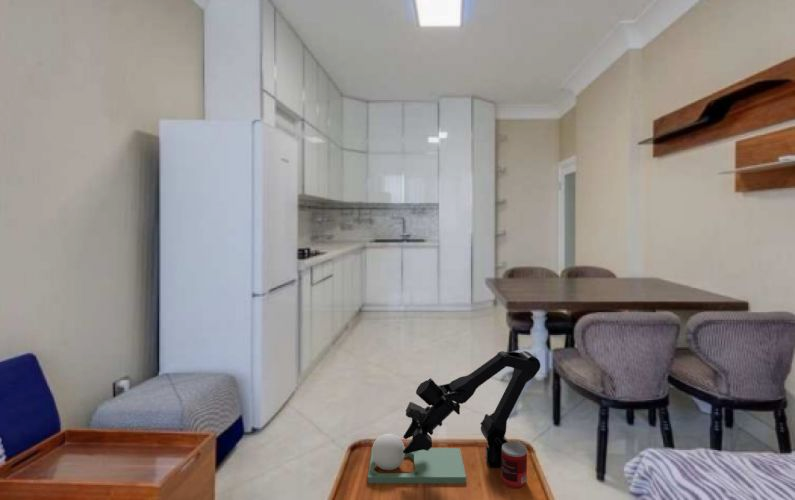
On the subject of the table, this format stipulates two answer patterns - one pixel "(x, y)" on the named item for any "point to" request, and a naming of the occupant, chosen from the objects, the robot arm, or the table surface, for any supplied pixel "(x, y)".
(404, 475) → the putting board
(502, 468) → the canned food
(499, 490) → the table surface
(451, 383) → the robot arm
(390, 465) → the ball
